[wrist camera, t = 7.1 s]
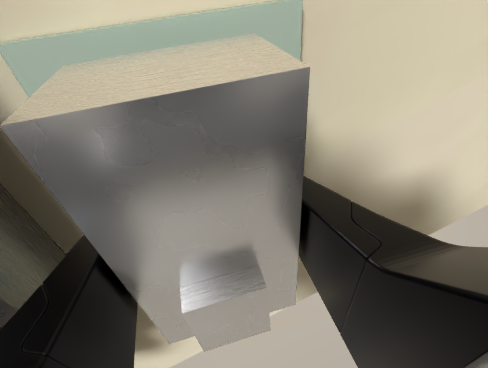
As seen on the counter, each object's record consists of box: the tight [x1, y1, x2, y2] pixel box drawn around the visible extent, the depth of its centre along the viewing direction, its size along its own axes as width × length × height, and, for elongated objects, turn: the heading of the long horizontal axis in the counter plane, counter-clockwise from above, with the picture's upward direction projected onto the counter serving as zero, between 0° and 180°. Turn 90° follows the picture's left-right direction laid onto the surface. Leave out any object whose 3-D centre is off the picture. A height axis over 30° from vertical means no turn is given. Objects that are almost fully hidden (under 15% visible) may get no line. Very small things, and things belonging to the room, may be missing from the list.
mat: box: [0, 0, 303, 97], centre depth 11 cm, size 10×9×1 cm
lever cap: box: [0, 33, 310, 351], centre depth 8 cm, size 9×5×4 cm, turn 6°
